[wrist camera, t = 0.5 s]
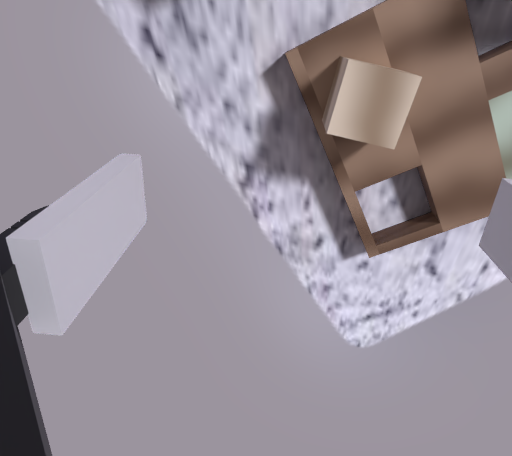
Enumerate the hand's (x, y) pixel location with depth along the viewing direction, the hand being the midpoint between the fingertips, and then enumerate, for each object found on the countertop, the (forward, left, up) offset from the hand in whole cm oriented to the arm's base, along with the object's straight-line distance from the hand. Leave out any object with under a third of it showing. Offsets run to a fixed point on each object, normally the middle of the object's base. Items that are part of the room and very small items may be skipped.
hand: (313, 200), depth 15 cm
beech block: (+1, +5, -20) cm, 20 cm away
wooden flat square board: (+5, +11, -22) cm, 25 cm away
